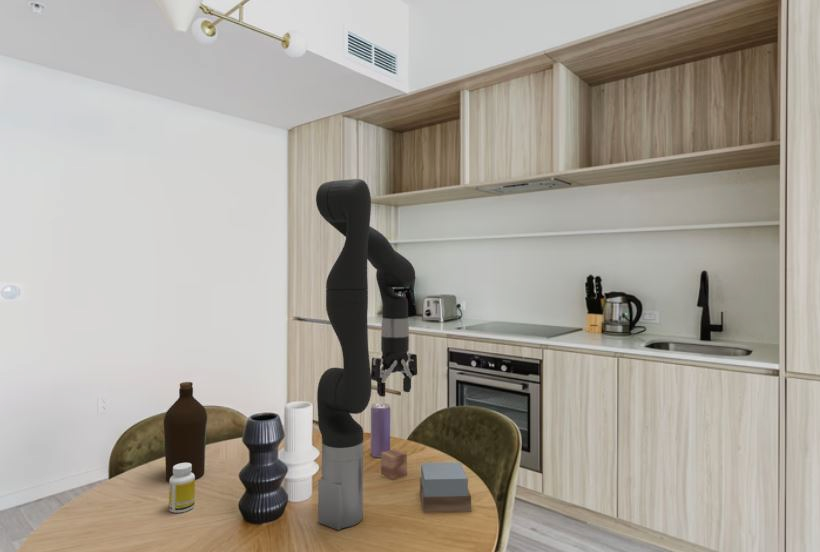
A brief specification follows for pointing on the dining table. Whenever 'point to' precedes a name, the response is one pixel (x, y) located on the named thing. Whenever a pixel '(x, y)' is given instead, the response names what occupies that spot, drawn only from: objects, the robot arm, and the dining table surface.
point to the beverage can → (380, 429)
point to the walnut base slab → (445, 503)
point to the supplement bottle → (182, 488)
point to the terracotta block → (394, 464)
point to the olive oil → (185, 432)
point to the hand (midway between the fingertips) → (394, 393)
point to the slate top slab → (444, 479)
